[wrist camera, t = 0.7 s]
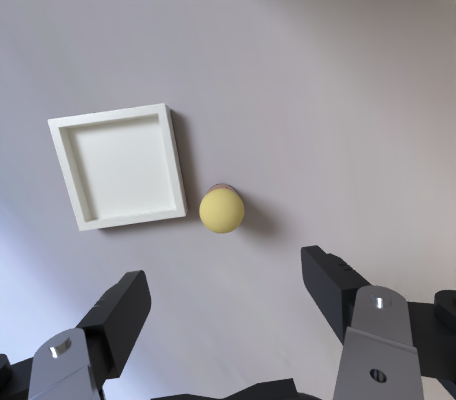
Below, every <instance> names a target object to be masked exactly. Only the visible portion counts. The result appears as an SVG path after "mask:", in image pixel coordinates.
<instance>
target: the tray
mask: <svg viewBox="0 0 456 400" xmlns="http://www.w3.org/2000/svg"><path fill="white" fill-rule="evenodd" d="M48 124H49V127H50V130H51V134H52V137H53V141H54V144H55V148H56V151H57V155H58V158H59V161H60V165H61V168H62V172H63V175H64V179H65V182H66V186H67V189H68V192H69V196H70V199H71V203H72V206H73V210H74V213H75V217H76V220H77V224H78V227H79V230H80V231H84V230H91V229H98V228H105V227H112V226H119V225H126V224H133V223H140V222H147V221H154V220H161V219H168V218H175V217H182V216H186V214H187V213H188V207H187V202H186V196H185V191H184V185H183V180H182V174H181V169H180V163H179V158H178V152H177V147H176V141H175V136H174V130H173V125H172V119H171V113H170V108H169V107H168V106H167V105H166V104H165V103H162V104H155V105H148V106H141V107H134V108H127V109H120V110H113V111H106V112H99V113H92V114H85V115H77V116H70V117H63V118H56V119H49V120H48Z"/></svg>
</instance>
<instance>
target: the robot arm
mask: <svg viewBox="0 0 456 400" xmlns="http://www.w3.org/2000/svg"><path fill="white" fill-rule="evenodd" d="M301 261H302V274H303V280H304V284H305V286H306V288H307V290H308V292H309V293H310V295H311V296H312V298H313V300H314V301H315V303H316V304H317V306H318V307H319V309H320V310H321V312H322V314H323V315H324V317H325V318H326V320H327V321H328V323H329V325H330V326H331V328H332V329H333V331H334V332H335V334H336V335H337V337H338V339H339V340H340V342H341V343H342V345H343V350H342V355H341V360H340V365H339V371H338V376H337V381H336V386H335V391H334V396H333V400H424V394H423V387H422V380H421V376H425V377H431V378H436V379H437V380H438V381H439V382H440V383H441V384H442V385H443V386H444V388H445V389H446V390H447V391H448V392H449V393H450V394H451V395H452V397H453V398H454V399H455V400H456V290H442V291H439V292H437V293H436V294H435V298H434V304H430V303H417V302H407V301H406V299H405V298H404V297H403V296H402V295H400V294H399V293H397V292H395V291H394V290H391V289H389V288H386V287H382V286H374V285H371V284H370V283H369V282H368V281H367V280H365V279H364V278H363V277H362V276H361V275H360V274H359V273H357V272H356V271H355V270H353V268H352V267H350V266H349V265H347V263H346V262H345V261H343V260H342V259H341V258H340V257H337V256H335V255H333V254H331V253H329V254H326V253H325V252H324V251H323V250H322V249H321V248H320V247H319V246H317V245H315V246H308V247H302V248H301ZM150 309H151V296H150V292H149V288H148V284H147V280H146V275H145V273H144V271H143V270H140V271H133V272H127V273H126V274H125V275H124V276H123V277H122V278H121V280H120V281H119V282H118V283H117V284H115V285H114V286H113V287H111V288H110V289H108V290H107V291H106V292H105V293H104V294H103V295H102V297H101V298H100V300H99V301H97V303H96V304H95V305H94V307H92V308H91V310H90V311H89V312H88V313H87V314H86V316H85V317H84V318H83V319H82V320H81V321H80V323H79V324H78V325H77V326H76V327H75V328H73V329H69V330H66V331H63V332H61V333H59V334H57V335H55V336H54V337H52V338H51V339H49V340H48V341H47V342H45V343H44V344H43V345H42V346H41V347H40V348H39V349H38V350H37V352H36V353H35V355H34V357H32V358H29V359H26V360H24V361H21V362H18V363H15V364H13V365H10V362H9V360H8V358H7V356H6V355H5V354H0V400H106V398H105V394H104V390H103V387H102V386H103V384H104V382H105V380H107V379H114V378H119V377H120V375H121V373H122V371H123V369H124V366H125V364H126V362H127V360H128V358H129V355H130V353H131V351H132V349H133V347H134V345H135V342H136V340H137V338H138V336H139V334H140V331H141V329H142V327H143V325H144V323H145V321H146V318H147V316H148V314H149V312H150ZM151 400H322V399H319V398H317V397H314V396H312V395H308V394H305V393H299V392H297V390H296V387H295V384H294V381H293V378H290V379H284V380H277V381H270V382H263V383H257V384H255V385H253V386H251V387H248V388H246V389H244V390H242V391H239V392H237V393H235V394H233V395H231V396H228V397H226V398H223V399H216V398H210V397H203V396H197V395H190V394H181V395H174V396H167V397H160V398H153V399H151Z"/></svg>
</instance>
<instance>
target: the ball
mask: <svg viewBox="0 0 456 400" xmlns="http://www.w3.org/2000/svg"><path fill="white" fill-rule="evenodd" d="M243 217H244V205H243V202H242V200H241V198H240V197H239V196H238V195H237V194H236V193H235V192H233V191H231V190H228V189H215V190H213V191H211V192H209V193H208V194H207V195H206V196H205V197H204V198H203V200H202V202H201V205H200V218H201V220H202V222H203V224H204V225H205V226H206V227H207V228H208V229H209V230H211V231H213V232H216V233H228V232H231V231H233V230H234V229H236V228H237V227H238V226H239V225H240V223H241V222H242V220H243Z"/></svg>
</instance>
